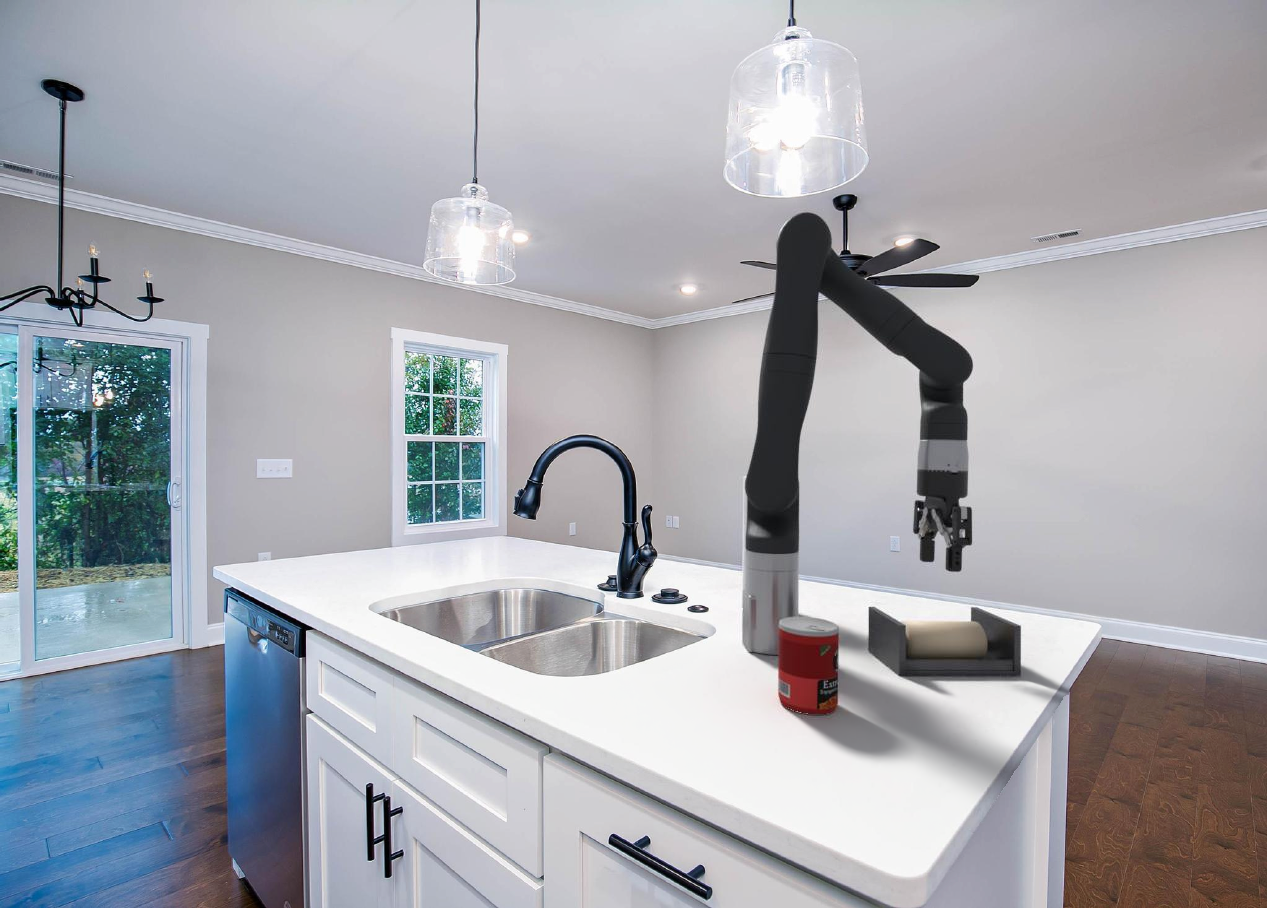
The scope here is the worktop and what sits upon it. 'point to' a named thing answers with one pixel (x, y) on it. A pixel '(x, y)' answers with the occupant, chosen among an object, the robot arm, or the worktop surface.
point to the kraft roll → (945, 640)
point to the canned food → (808, 664)
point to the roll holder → (998, 660)
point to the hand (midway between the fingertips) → (939, 566)
